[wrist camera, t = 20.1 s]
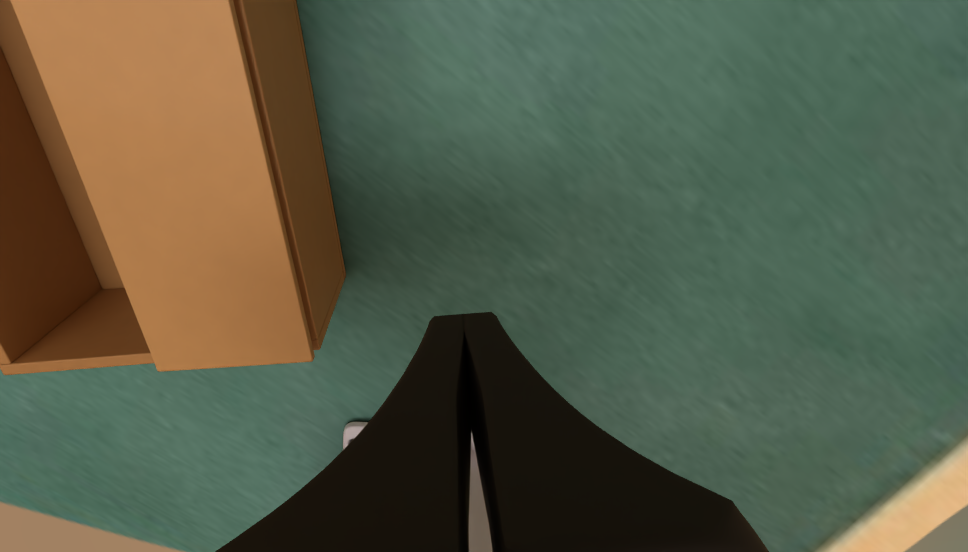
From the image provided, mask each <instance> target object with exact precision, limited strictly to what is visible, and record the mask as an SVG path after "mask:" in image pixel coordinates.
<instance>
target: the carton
mask: <svg viewBox="0 0 968 552" xmlns="http://www.w3.org/2000/svg"><path fill="white" fill-rule="evenodd" d="M233 2H234V6H235V11H236V15H237V20H238V24H239V28H240V33H241V37H242V41H243V46H244V50H245V54H246V59H247V63H248V67H249V72H250V76H251V81H252V85H253V89H254V94H255V98H256V102H257V107H258V111H259V115H260V120H261V124H262V128H263V133H264V137H265V142H266V146H267V150H268V155H269V159H270V163H271V168H272V172H273V176H274V181H275V185H276V189H277V194H278V198H279V203H280V207H281V211H282V216H283V220H284V224H285V229H286V233H287V237H288V242H289V246H290V251H291V255H292V259H293V264H294V268H295V272H296V277H297V281H298V285H299V290H300V294H301V298H302V303H303V307H304V312H305V316H306V320H307V325H308V329H309V333H310V338H311V342H312V346H313V350H319V349H320V348H321V345H322V342H323V339H324V336H325V334H326V331H327V328H328V325H329V322H330V319H331V317H332V314H333V311H334V308H335V305H336V302H337V300H338V297H339V294H340V291H341V288H342V285H343V283H344V280H345V277H346V272H345V267H344V261H343V256H342V250H341V245H340V239H339V234H338V228H337V223H336V217H335V212H334V206H333V201H332V195H331V190H330V184H329V179H328V173H327V168H326V162H325V157H324V151H323V146H322V140H321V135H320V129H319V124H318V118H317V113H316V107H315V102H314V96H313V91H312V85H311V80H310V74H309V69H308V63H307V58H306V52H305V47H304V41H303V36H302V30H301V25H300V19H299V14H298V8H297V3H296V0H233ZM148 363H154V360H153V358H152V355H151V353H150V350H149V348H148V345H147V343H146V340H145V338H144V335H143V333H142V330H141V328H140V325H139V323H138V320H137V318H136V315H135V313H134V310H133V308H132V305H131V303H130V300H129V298H128V295H127V293H126V290H125V287H124V285H123V282H122V280H121V277H120V275H119V272H118V270H117V267H116V265H115V262H114V260H113V257H112V255H111V252H110V250H109V247H108V245H107V242H106V240H105V237H104V235H103V232H102V230H101V227H100V225H99V222H98V220H97V217H96V215H95V212H94V210H93V207H92V204H91V202H90V199H89V197H88V194H87V192H86V189H85V187H84V184H83V182H82V179H81V177H80V174H79V172H78V169H77V167H76V164H75V162H74V159H73V157H72V154H71V152H70V149H69V147H68V144H67V142H66V139H65V137H64V134H63V132H62V129H61V126H60V124H59V121H58V119H57V116H56V114H55V111H54V109H53V106H52V104H51V101H50V99H49V96H48V94H47V91H46V89H45V86H44V84H43V81H42V79H41V76H40V74H39V71H38V69H37V66H36V64H35V61H34V59H33V56H32V54H31V51H30V49H29V46H28V43H27V41H26V38H25V36H24V33H23V31H22V28H21V26H20V23H19V21H18V18H17V16H16V13H15V11H14V8H13V6H12V3H11V1H10V0H0V369H1V370H2V372H3V374H4V375H12V374H24V373H36V372H49V371H61V370H73V369H86V368H98V367H111V366H123V365H135V364H148Z"/></svg>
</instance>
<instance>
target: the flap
mask: <svg viewBox="0 0 968 552" xmlns="http://www.w3.org/2000/svg"><path fill="white" fill-rule="evenodd" d="M10 1H11V3H12V6H13V8H14V11H15V13H16V16H17V18H18V21H19V23H20V26H21V28H22V31H23V33H24V36H25V38H26V41H27V43H28V46H29V49H30V51H31V54H32V56H33V59H34V61H35V64H36V66H37V69H38V71H39V74H40V76H41V79H42V81H43V84H44V86H45V89H46V91H47V94H48V96H49V99H50V101H51V104H52V106H53V109H54V111H55V114H56V116H57V119H58V121H59V124H60V126H61V129H62V132H63V134H64V137H65V139H66V142H67V144H68V147H69V149H70V152H71V154H72V157H73V159H74V162H75V164H76V167H77V169H78V172H79V174H80V177H81V179H82V182H83V184H84V187H85V189H86V192H87V194H88V197H89V199H90V202H91V204H92V207H93V210H94V212H95V215H96V217H97V220H98V222H99V225H100V227H101V230H102V232H103V235H104V237H105V240H106V242H107V245H108V247H109V250H110V252H111V255H112V257H113V260H114V262H115V265H116V267H117V270H118V272H119V275H120V277H121V280H122V282H123V285H124V287H125V290H126V293H127V295H128V298H129V300H130V303H131V305H132V308H133V310H134V313H135V315H136V318H137V320H138V323H139V325H140V328H141V330H142V333H143V335H144V338H145V340H146V343H147V345H148V348H149V350H150V353H151V355H152V358H153V360H154V363H155V365H156V368H157V371H159V372H160V371H175V370H190V369H206V368H221V367H236V366H251V365H266V364H281V363H297V362H312V361H313V359H314V357H315V355H314V351H313V346H312V342H311V338H310V333H309V329H308V325H307V320H306V316H305V312H304V307H303V303H302V298H301V294H300V290H299V285H298V281H297V277H296V272H295V268H294V264H293V259H292V255H291V251H290V246H289V242H288V237H287V233H286V229H285V224H284V220H283V216H282V211H281V207H280V203H279V198H278V194H277V189H276V185H275V181H274V176H273V172H272V168H271V163H270V159H269V155H268V150H267V146H266V142H265V137H264V133H263V128H262V124H261V120H260V115H259V111H258V107H257V102H256V98H255V94H254V89H253V85H252V81H251V76H250V72H249V67H248V63H247V59H246V54H245V50H244V46H243V41H242V37H241V33H240V28H239V24H238V20H237V15H236V11H235V6H234V2H233V0H10Z"/></svg>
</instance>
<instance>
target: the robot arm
mask: <svg viewBox="0 0 968 552" xmlns="http://www.w3.org/2000/svg"><path fill="white" fill-rule="evenodd" d="M351 439H353V440H351ZM216 552H769V551H768V550H767V548H766V547H765V545H764V544H763V542H762V541H761V539H760V538H759V536H758V535H757V534H756V532H755V531H754V529H753V528H752V527H751V525H750V524H749V523H748V522H747V520H746V519H745V518H744V516H743V515H742V514H741V513H740V511H739V510H738V509H737V507H736V506H735V504H734V503H733V502H732V501H731V500H729V499H727V498H725V497H723V496H721V495H719V494H717V493H714V492H712V491H710V490H708V489H706V488H704V487H702V486H700V485H697V484H695V483H693V482H691V481H689V480H687V479H685V478H683V477H681V476H678V475H676V474H674V473H672V472H671V471H669V470H667V469H665V468H663V467H661V466H660V465H658V464H656V463H654V462H653V461H651V460H649V459H647V458H646V457H644V456H642V455H640V454H639V453H637V452H635V451H634V450H632V449H630V448H629V447H627V446H626V445H624V444H623V443H621V442H620V441H618V440H617V439H615V438H614V437H612V436H611V435H609V434H608V433H606V432H605V431H604V430H602V429H601V428H599V427H598V426H596V425H595V424H594V423H592V422H591V421H590V420H589V419H587V418H586V417H585V416H583V415H582V414H581V413H580V412H579V411H578V410H576V409H575V408H574V407H573V406H572V405H570V404H569V403H568V402H567V401H566V400H565V399H564V398H563V397H562V396H561V395H560V394H559V393H557V392H556V391H555V390H554V389H553V388H552V387H551V386H550V385H549V384H548V383H547V381H546V380H545V379H544V378H543V377H542V376H541V375H540V374H539V373H538V372H537V371H536V370H535V369H534V368H533V366H532V365H531V364H530V363H529V362H528V360H527V359H526V358H525V357H524V356H523V354H522V353H521V352H520V351H519V350H518V348H517V347H516V346H515V344H514V343H513V342H512V340H511V339H510V337H509V336H508V335H507V333H506V332H505V330H504V329H503V327H502V325H501V324H500V322H499V320H498V318H497V316H496V315H494V314H493V313H492V312H484V313H471V314H458V315H445V316H434V317H433V318H432V319H431V320H430V322H429V325H428V328H427V330H426V333H425V335H424V337H423V339H422V341H421V343H420V345H419V347H418V349H417V351H416V353H415V355H414V357H413V358H412V360H411V362H410V364H409V365H408V367H407V369H406V371H405V372H404V374H403V375H402V377H401V379H400V380H399V381H398V383H397V384H396V386H395V387H394V389H393V390H392V392H391V393H390V395H389V396H388V398H387V399H386V400H385V402H384V403H383V405H382V406H381V407H380V408H379V410H378V411H377V412H376V414H375V415H374V416H373V417H372V419H371V420H370V421H369V422H350V423H348V424H347V425H346V426H345V429H344V433H343V451H342V452H341V453H340V454H339V455H338V456H337V457H336V458H335V459H334V460H333V461H332V462H331V463H330V464H329V465H328V466H327V467H326V468H325V469H324V470H323V471H321V472H320V473H319V474H318V475H317V476H316V477H315V478H313V479H312V480H311V481H310V482H309V483H308V484H306V485H305V486H304V487H303V488H302V489H301V490H299V491H298V492H297V493H296V494H294V495H293V496H292V497H291V498H290V499H288V500H287V501H286V502H285V503H283V504H282V505H281V506H279V507H278V508H277V509H275V510H274V511H273V512H271V513H270V514H269V515H267V516H266V517H264V518H263V519H262V520H260V521H259V522H257V523H256V524H254V525H253V526H252V527H250V528H249V529H247V530H246V531H245V532H243V533H242V534H240V535H239V536H237V537H236V538H235V539H233V540H232V541H230V542H229V543H227V544H226V545H224V546H223V547H221V548H220V549H218V550H217V551H216Z"/></svg>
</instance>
